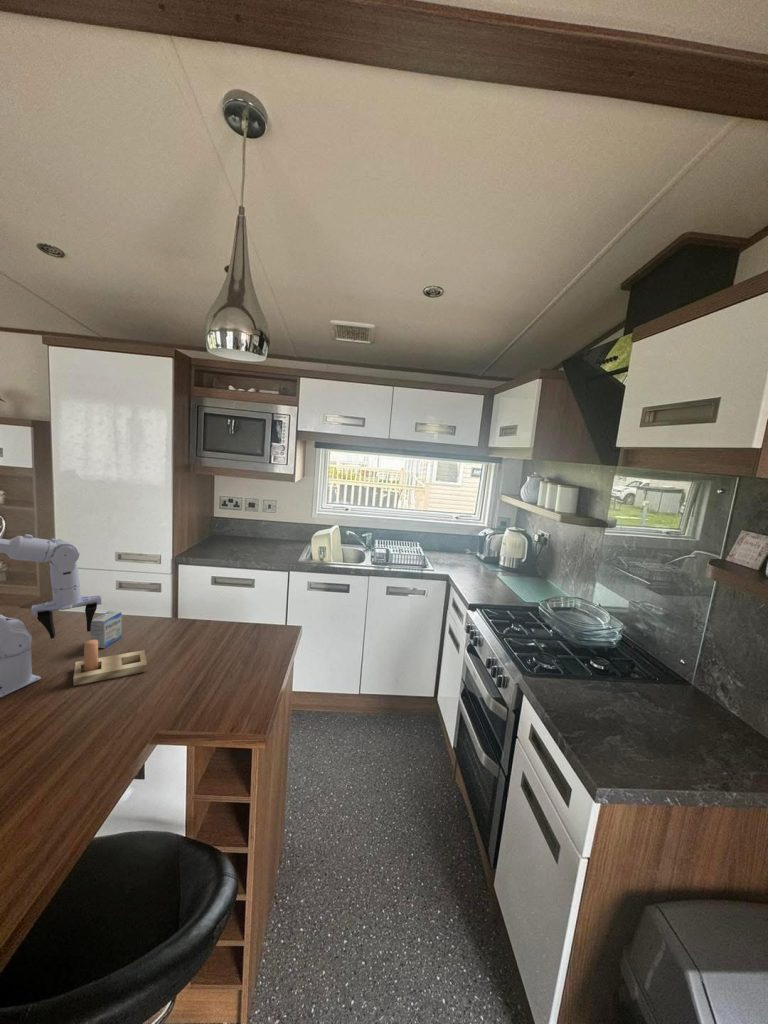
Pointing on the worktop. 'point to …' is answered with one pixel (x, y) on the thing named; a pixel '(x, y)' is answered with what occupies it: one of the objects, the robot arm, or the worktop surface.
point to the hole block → (111, 667)
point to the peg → (90, 655)
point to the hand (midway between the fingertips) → (71, 633)
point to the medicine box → (106, 628)
